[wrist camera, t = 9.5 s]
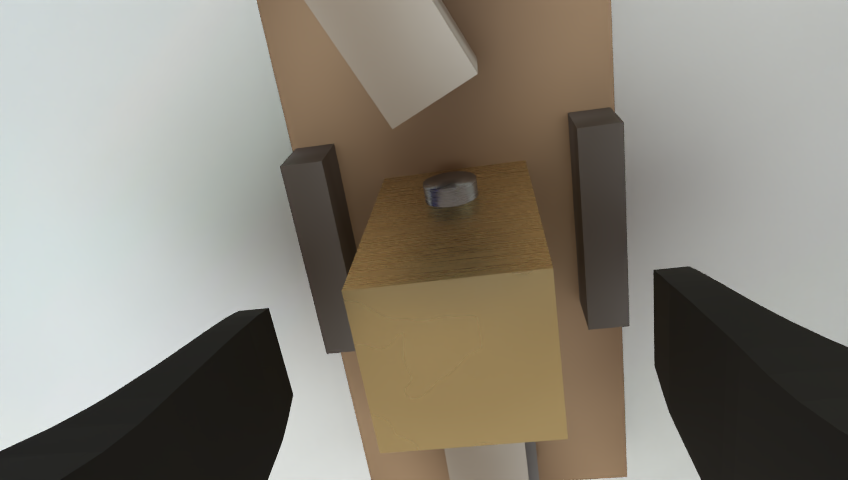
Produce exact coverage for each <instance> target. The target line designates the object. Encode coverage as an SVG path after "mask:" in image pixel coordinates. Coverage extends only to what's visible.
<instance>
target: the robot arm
mask: <svg viewBox="0 0 848 480" xmlns="http://www.w3.org/2000/svg"><path fill="white" fill-rule="evenodd" d="M654 358H655V369H656V372H657V375H658V378H659V382H660V385H661V388H662V392H663V395H664V398H665V401H666V404H667V407H668V410H669V413H670V415H671V417H672V419H673V421H674V424H675V426H676V428H677V430H678V432H679V434H680V436H681V438H682V441H683V443H684V445H685V447H686V449H687V451H688V453H689V455H690V457H691V459H692V462H693V464H694V466H695V468H696V470H697V472H698V474H699V476H700V478H701V480H848V347H846V346H844V345H842V344H839V343H837V342H834V341H832V340H830V339H827V338H825V337H823V336H821V335H819V334H817V333H814V332H812V331H810V330H808V329H806V328H804V327H802V326H800V325H797V324H795V323H793V322H791V321H789V320H787V319H785V318H783V317H781V316H779V315H777V314H775V313H774V312H772V311H770V310H768V309H766V308H764V307H762V306H760V305H759V304H757V303H755V302H753V301H751V300H749V299H748V298H746V297H744V296H742V295H741V294H739V293H737V292H735V291H733V290H732V289H730V288H728V287H726V286H725V285H723V284H721V283H719V282H718V281H716V280H714V279H712V278H711V277H709V276H707V275H705V274H703V273H701V272H700V271H698V270H696V269H693V268H691V267H679V268H669V269H659V270H654ZM292 398H293V392H292V389H291V385H290V382H289V378H288V375H287V371H286V368H285V364H284V361H283V357H282V353H281V350H280V346H279V343H278V339H277V336H276V332H275V329H274V325H273V322H272V318H271V315H270V311H269V308H265V309H255V310H245V311H238V312H236V313H234V314H232V315H230V316H229V317H227V318H225V319H224V320H222V321H220V322H219V323H217V324H216V325H214V326H213V327H211V328H210V329H208V330H207V331H205V332H204V333H202V334H201V335H200V336H198V337H197V338H195V339H194V340H192V341H191V342H189V343H188V344H187V345H185V346H184V347H182V348H181V349H179V350H178V351H176V352H175V353H174V354H172V355H171V356H169V357H168V358H166V359H165V360H163V361H162V362H161V363H159V364H158V365H156V366H155V367H153V368H151V369H150V370H148V371H147V372H145V373H144V374H142V375H141V376H139V377H137V378H136V379H134V380H133V381H131V382H130V383H128V384H127V385H125V386H123V387H122V388H120V389H119V390H117V391H116V392H114V393H113V394H111V395H109V396H108V397H106V398H104V399H103V400H101V401H99V402H97V403H96V404H94V405H92V406H90V407H89V408H87V409H85V410H83V411H81V412H80V413H78V414H76V415H74V416H72V417H70V418H68V419H67V420H65V421H63V422H61V423H59V424H57V425H55V426H53V427H51V428H49V429H47V430H45V431H43V432H41V433H39V434H37V435H34V436H32V437H30V438H28V439H26V440H24V441H21V442H19V443H17V444H15V445H13V446H11V447H8V448H6V449H4V450H2V451H0V480H268V478H269V475H270V473H271V470H272V467H273V465H274V462H275V460H276V457H277V454H278V452H279V449H280V446H281V444H282V441H283V437H284V433H285V429H286V425H287V421H288V417H289V412H290V407H291V403H292Z"/></svg>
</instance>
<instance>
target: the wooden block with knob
mask: <svg viewBox="0 0 848 480" xmlns="http://www.w3.org/2000/svg"><path fill="white" fill-rule="evenodd" d="M342 295H343V299H344V304H345V308H346V312H347V316H348V321H349V325H350V329H351V333H352V337H353V342H354V346H355V350H356V354H357V359H358V363H359V367H360V371H361V376H362V380H363V384H364V388H365V393H366V397H367V401H368V405H369V410H370V414H371V418H372V422H373V427H374V431H375V435H376V439H377V444H378V448H379V452H380V453H392V452H406V451H419V450H432V449H445V448H458V447H471V446H484V445H498V444H511V443H524V442H537V441H550V440H563V439H568V434H567V422H566V411H565V399H564V388H563V376H562V365H561V353H560V342H559V330H558V319H557V307H556V296H555V284H554V273H553V266H552V262H551V258H550V254H549V250H548V246H547V242H546V238H545V234H544V230H543V226H542V223H541V219H540V215H539V211H538V207H537V203H536V199H535V195H534V191H533V187H532V183H531V179H530V175H529V171H528V168H527V164H526V160H524V161H516V162H508V163H501V164H493V165H485V166H478V167H470V168H462V169H455V170H447V171H439V172H431V173H424V174H416V175H408V176H401V177H393V178H385V179H384V181H383V184H382V186H381V189H380V192H379V194H378V197H377V199H376V202H375V205H374V207H373V210H372V213H371V215H370V218H369V220H368V223H367V226H366V228H365V231H364V234H363V236H362V239H361V241H360V244H359V247H358V249H357V252H356V255H355V257H354V260H353V262H352V265H351V268H350V270H349V273H348V276H347V278H346V281H345V283H344V286H343V289H342Z"/></svg>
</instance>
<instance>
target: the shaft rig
mask: <svg viewBox="0 0 848 480" xmlns="http://www.w3.org/2000/svg"><path fill="white" fill-rule="evenodd" d="M257 4H258V8H259V12H260V17H261V21H262V25H263V29H264V33H265V38H266V42H267V46H268V50H269V54H270V58H271V63H272V67H273V71H274V75H275V79H276V83H277V88H278V92H279V96H280V100H281V104H282V109H283V113H284V117H285V121H286V125H287V129H288V134H289V138H290V142H291V146H292V150H293V152H292V154H291V155H290V156H289V157H288V158H287V159H286V160H285V162H284V163H283V164H282V165H281V166H280V168H281V172H282V176H283V180H284V184H285V188H286V192H287V196H288V200H289V204H290V208H291V212H292V216H293V220H294V224H295V228H296V232H297V236H298V241H299V245H300V249H301V253H302V257H303V261H304V265H305V269H306V273H307V277H308V281H309V285H310V289H311V293H312V297H313V301H314V305H315V309H316V313H317V317H318V321H319V325H320V329H321V333H322V337H323V341H324V345H325V349H326V353H327V354H329V353H340V352H341V355H342V359H343V363H344V368H345V372H346V376H347V380H348V384H349V389H350V393H351V397H352V401H353V405H354V409H355V414H356V418H357V422H358V426H359V430H360V435H361V439H362V443H363V447H364V451H365V455H366V460H367V464H368V468H369V472H370V476H371V480H583V479H598V478H614V477H627V462H626V433H625V403H624V373H623V344H622V327H626V326H629V295H628V260H627V225H626V190H625V155H624V122H623V121H622V120H621V119H620V118H619V117H618V115H617V114H616V113H615V107H614V77H613V48H612V18H611V0H257ZM524 160H526V164H527V168H528V171H529V175H530V179H531V183H532V187H533V191H534V195H535V199H536V203H537V207H538V211H539V215H540V219H541V223H542V226H543V230H544V234H545V238H546V242H547V246H548V250H549V254H550V258H551V262H552V266H553V273H554V284H555V296H556V307H557V319H558V330H559V342H560V353H561V365H562V376H563V388H564V399H565V411H566V422H567V434H568V439H563V440H550V441H537V442H524V443H511V444H498V445H484V446H471V447H458V448H445V449H432V450H419V451H406V452H392V453H380V452H379V448H378V444H377V439H376V435H375V431H374V427H373V422H372V418H371V414H370V410H369V405H368V401H367V397H366V393H365V388H364V384H363V380H362V376H361V371H360V367H359V363H358V359H357V354H356V350H355V346H354V342H353V337H352V333H351V329H350V325H349V321H348V316H347V312H346V308H345V304H344V299H343V295H342V289H343V286H344V283H345V281H346V278H347V276H348V273H349V270H350V268H351V265H352V262H353V260H354V257H355V255H356V252H357V249H358V247H359V244H360V241H361V239H362V236H363V234H364V231H365V228H366V226H367V223H368V220H369V218H370V215H371V213H372V210H373V207H374V205H375V202H376V199H377V197H378V194H379V192H380V189H381V186H382V184H383V181H384V179H385V178H393V177H401V176H408V175H416V174H424V173H431V172H439V171H447V170H455V169H462V168H470V167H478V166H485V165H493V164H501V163H508V162H516V161H524Z"/></svg>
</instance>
